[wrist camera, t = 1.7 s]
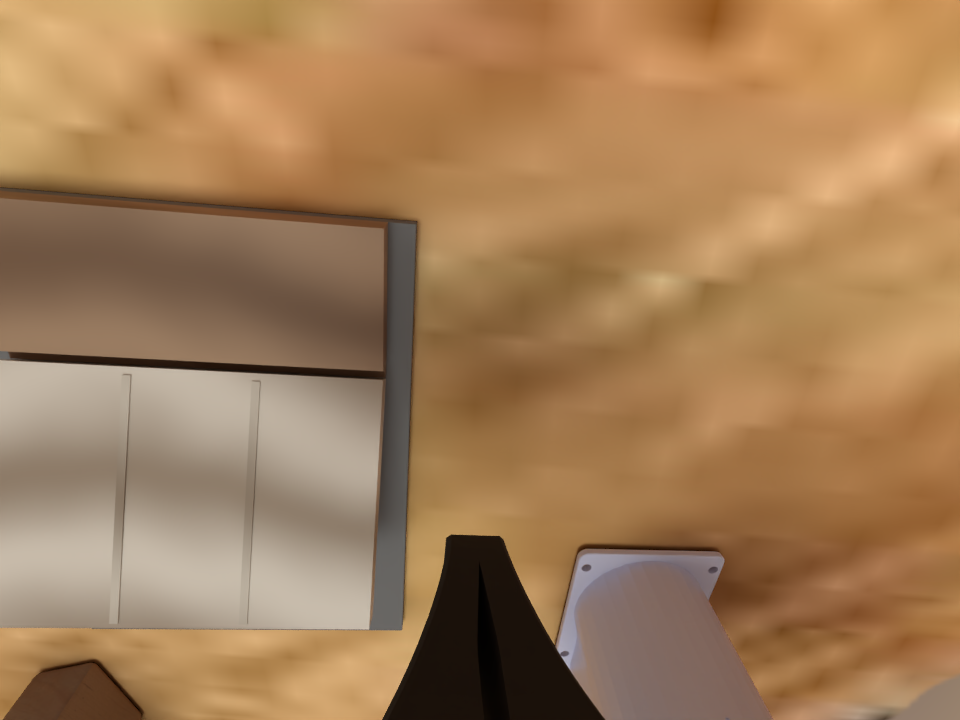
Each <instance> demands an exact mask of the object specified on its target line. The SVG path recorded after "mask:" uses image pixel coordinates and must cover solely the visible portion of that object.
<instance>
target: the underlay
mask: <svg viewBox="0 0 960 720" xmlns="http://www.w3.org/2000/svg"><path fill="white" fill-rule="evenodd" d="M0 191H8V192H21V193H33V194H46V195H58V196H70V197H83V198H95V199H107V200H120V201H132V202H145V203H157V204H169V205H182V206H194V207H206V208H219V209H231V210H243V211H256V212H268V213H281V214H293V215H305V216H318V217H330V218H342V219H355V220H367V221H380V222H388V261H387V358H386V377H385V378H386V387H385V405H384V423H383V441H382V459H381V477H380V495H379V513H378V531H377V549H376V567H375V585H374V603H373V615H372V619H371V624H370V628H369V630H402V625H403V604H404V576H405V547H406V518H407V490H408V461H409V433H410V404H411V376H412V347H413V318H414V290H415V261H416V233H417V221H406V220H393V219H381V218H369V217H356V216H344V215H332V214H320V213H307V212H295V211H283V210H270V209H258V208H246V207H234V206H221V205H209V204H197V203H184V202H172V201H160V200H148V199H135V198H123V197H111V196H99V195H86V194H74V193H62V192H49V191H37V190H25V189H13V188H0ZM3 359H13V358H10V356H9V354H8V351H0V360H3ZM21 360H33V359H21ZM41 361H52V360H41ZM60 362H71V361H60ZM79 363H90V362H79ZM98 364H110V363H98ZM118 365H129V364H118ZM137 366H148V365H137ZM156 367H168V366H156ZM176 368H187V367H176ZM195 369H206V368H195ZM214 370H225V369H214ZM234 371H245V370H234ZM253 372H264V371H253ZM272 373H283V372H272ZM291 374H302V373H291ZM311 375H322V374H311ZM330 376H341V375H330ZM349 377H360V376H349ZM369 378H379V377H369ZM92 629H167V628H92ZM248 630H361V629H248Z"/></svg>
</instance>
